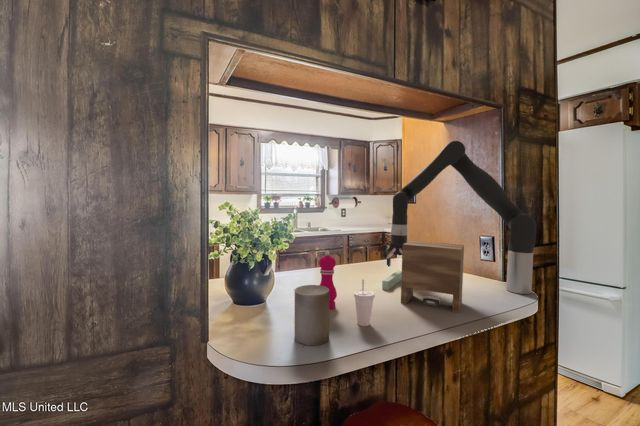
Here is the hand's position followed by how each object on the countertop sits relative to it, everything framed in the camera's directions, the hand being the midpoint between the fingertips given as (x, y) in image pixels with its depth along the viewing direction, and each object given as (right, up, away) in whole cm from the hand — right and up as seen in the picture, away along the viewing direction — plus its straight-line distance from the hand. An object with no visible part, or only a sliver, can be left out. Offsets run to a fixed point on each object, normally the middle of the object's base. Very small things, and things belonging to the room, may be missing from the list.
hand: (397, 267), depth 157 cm
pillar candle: (-40, -9, -66) cm, 77 cm away
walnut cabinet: (+5, -8, -34) cm, 35 cm away
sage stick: (-4, -7, -7) cm, 11 cm away
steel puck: (+5, -8, -34) cm, 35 cm away
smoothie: (-24, -9, -55) cm, 61 cm away
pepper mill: (-35, -8, -40) cm, 54 cm away
